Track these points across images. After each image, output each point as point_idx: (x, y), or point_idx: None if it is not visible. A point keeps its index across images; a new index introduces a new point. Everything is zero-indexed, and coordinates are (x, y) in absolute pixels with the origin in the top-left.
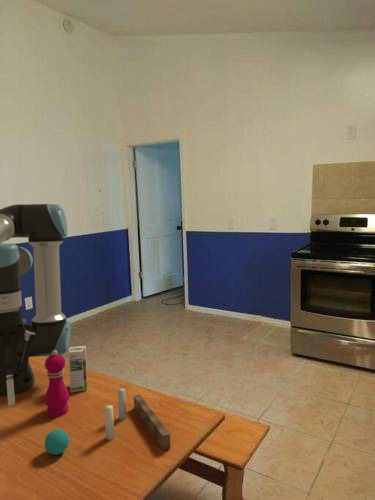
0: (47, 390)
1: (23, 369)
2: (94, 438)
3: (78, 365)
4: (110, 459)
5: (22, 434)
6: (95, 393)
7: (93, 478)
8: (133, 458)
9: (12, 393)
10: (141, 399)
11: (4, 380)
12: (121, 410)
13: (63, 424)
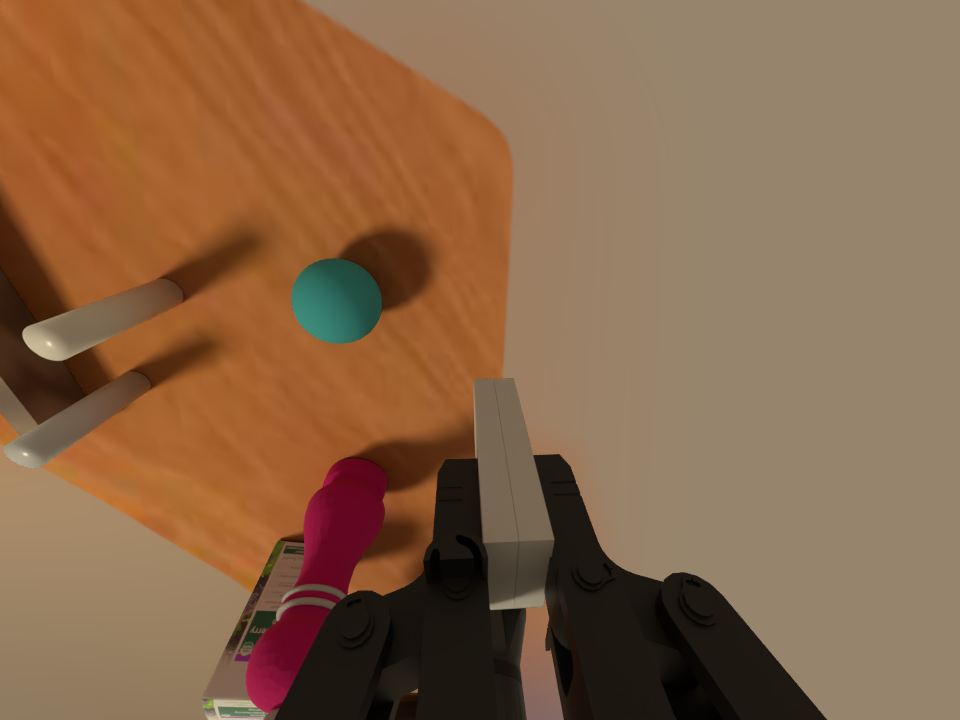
0: (365, 543)
1: (345, 662)
2: (227, 311)
3: (260, 632)
4: (144, 156)
5: (453, 415)
6: (251, 521)
7: (200, 60)
8: (37, 113)
9: (489, 430)
10: (14, 420)
11: (567, 547)
12: (106, 392)
13: (338, 418)
